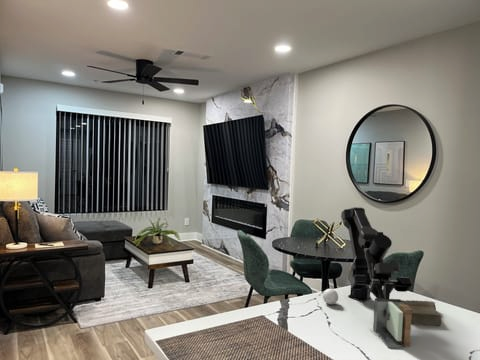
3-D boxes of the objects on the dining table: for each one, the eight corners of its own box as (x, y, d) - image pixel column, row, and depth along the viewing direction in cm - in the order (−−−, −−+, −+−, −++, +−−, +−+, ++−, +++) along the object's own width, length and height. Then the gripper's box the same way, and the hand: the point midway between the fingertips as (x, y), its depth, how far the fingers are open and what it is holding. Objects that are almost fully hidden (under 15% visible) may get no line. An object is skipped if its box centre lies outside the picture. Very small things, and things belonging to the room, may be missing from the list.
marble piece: (434, 311, 131) (435, 299, 131) (452, 329, 116) (453, 316, 116) (387, 306, 133) (387, 295, 133) (399, 324, 119) (400, 312, 118)
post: (397, 339, 107) (399, 304, 107) (404, 339, 107) (406, 304, 107) (403, 346, 103) (405, 309, 103) (410, 346, 103) (412, 310, 103)
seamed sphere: (319, 302, 135) (319, 287, 134) (330, 300, 137) (331, 285, 137) (333, 310, 128) (333, 294, 128) (345, 307, 130) (345, 292, 130)
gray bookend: (373, 329, 114) (374, 298, 113) (398, 330, 113) (400, 299, 113) (387, 347, 102) (389, 313, 102) (415, 348, 102) (417, 314, 102)
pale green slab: (384, 328, 111) (385, 301, 111) (390, 328, 111) (391, 301, 111) (394, 340, 103) (396, 312, 103) (401, 341, 103) (403, 312, 103)
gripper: (354, 250, 118) (363, 295, 108) (411, 253, 118) (426, 298, 107) (347, 267, 127) (354, 310, 116) (400, 269, 126) (412, 313, 115)
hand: (386, 308), depth 113 cm, fingers closed, pressing on gray bookend
